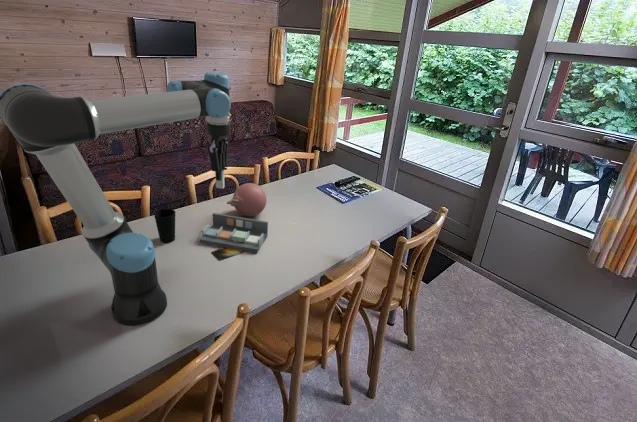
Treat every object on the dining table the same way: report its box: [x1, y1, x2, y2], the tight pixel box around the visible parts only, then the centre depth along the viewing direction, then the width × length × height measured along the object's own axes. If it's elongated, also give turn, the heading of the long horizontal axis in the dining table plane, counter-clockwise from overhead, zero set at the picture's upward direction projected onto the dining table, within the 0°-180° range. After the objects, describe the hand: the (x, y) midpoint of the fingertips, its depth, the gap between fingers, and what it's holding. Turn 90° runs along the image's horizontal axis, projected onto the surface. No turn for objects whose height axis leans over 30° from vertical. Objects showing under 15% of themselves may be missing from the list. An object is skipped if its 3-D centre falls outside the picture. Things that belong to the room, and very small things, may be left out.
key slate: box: [205, 227, 218, 238], centre depth 149 cm, size 5×5×2 cm
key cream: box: [246, 235, 260, 245], centre depth 147 cm, size 5×5×2 cm
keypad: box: [198, 212, 269, 254], centre depth 148 cm, size 14×24×7 cm, turn 81°
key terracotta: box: [218, 231, 232, 240], centre depth 148 cm, size 5×5×2 cm
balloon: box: [226, 182, 267, 217], centre depth 166 cm, size 15×20×15 cm
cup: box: [153, 208, 176, 244], centre depth 143 cm, size 8×8×12 cm
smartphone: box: [210, 242, 247, 262], centre depth 142 cm, size 7×1×15 cm
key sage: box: [232, 230, 247, 242], centre depth 147 cm, size 5×5×2 cm
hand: (220, 187), depth 131 cm, fingers closed
